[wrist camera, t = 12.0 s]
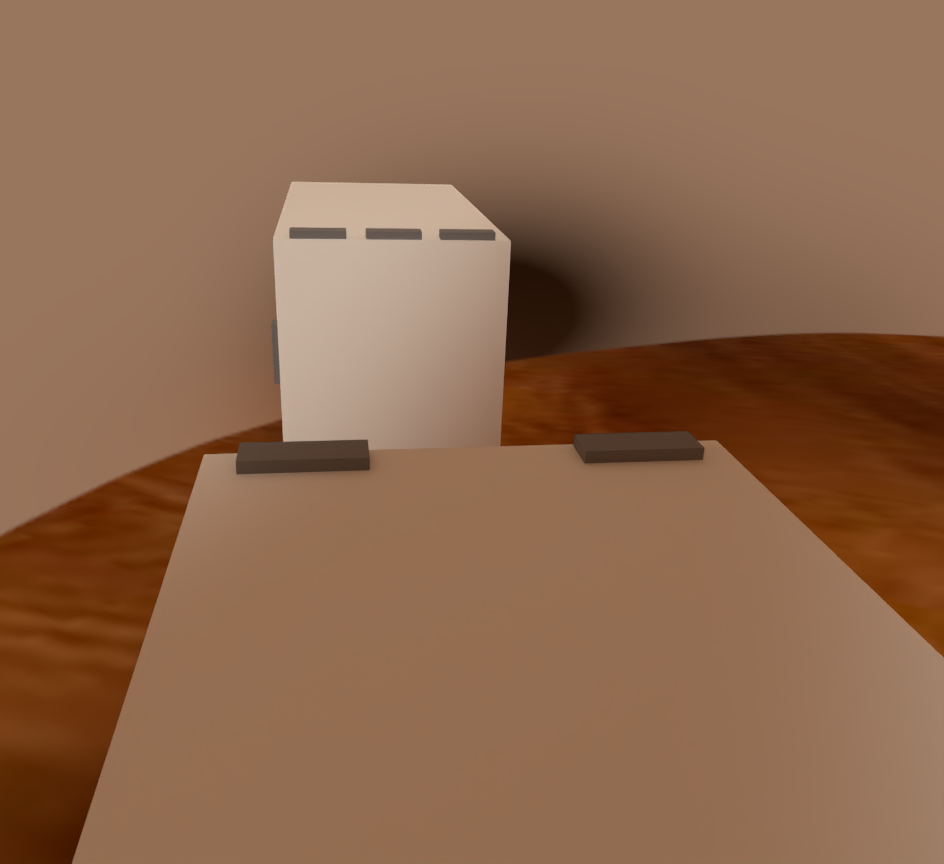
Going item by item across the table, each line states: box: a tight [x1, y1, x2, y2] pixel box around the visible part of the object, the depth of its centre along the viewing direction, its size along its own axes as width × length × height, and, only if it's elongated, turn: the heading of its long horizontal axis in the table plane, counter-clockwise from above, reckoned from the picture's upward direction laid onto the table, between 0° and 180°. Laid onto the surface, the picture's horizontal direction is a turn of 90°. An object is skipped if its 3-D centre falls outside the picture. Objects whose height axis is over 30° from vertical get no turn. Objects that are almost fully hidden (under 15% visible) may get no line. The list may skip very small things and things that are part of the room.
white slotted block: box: [272, 182, 511, 450], centre depth 30 cm, size 6×12×12 cm, turn 9°
